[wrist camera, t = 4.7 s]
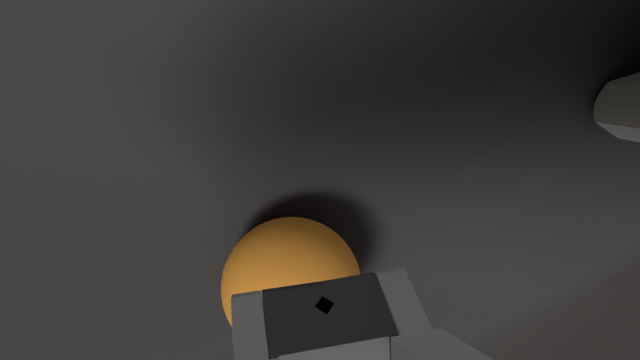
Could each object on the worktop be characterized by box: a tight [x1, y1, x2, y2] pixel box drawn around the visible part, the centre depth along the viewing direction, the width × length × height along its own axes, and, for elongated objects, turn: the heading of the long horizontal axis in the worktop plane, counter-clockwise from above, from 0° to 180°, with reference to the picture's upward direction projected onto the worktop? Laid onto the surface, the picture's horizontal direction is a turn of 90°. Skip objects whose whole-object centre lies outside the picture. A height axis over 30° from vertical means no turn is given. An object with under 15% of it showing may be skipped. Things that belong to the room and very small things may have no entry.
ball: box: [221, 217, 360, 326], centre depth 26 cm, size 6×6×6 cm
